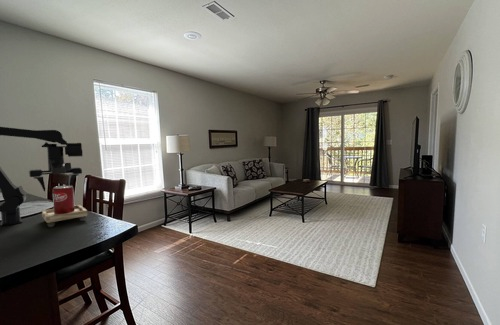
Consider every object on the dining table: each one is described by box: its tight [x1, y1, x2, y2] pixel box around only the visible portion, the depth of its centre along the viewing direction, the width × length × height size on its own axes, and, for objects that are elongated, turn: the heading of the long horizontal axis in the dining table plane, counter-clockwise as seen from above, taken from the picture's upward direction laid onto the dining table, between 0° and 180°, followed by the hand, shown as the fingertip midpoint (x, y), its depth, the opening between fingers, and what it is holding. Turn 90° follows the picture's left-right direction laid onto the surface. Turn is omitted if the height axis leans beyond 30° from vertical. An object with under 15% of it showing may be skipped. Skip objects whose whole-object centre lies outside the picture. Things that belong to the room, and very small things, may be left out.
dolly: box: [41, 204, 88, 228], centre depth 105 cm, size 14×14×5 cm
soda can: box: [52, 185, 75, 215], centre depth 104 cm, size 7×7×12 cm
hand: (57, 189), depth 110 cm, fingers open, 9 cm apart
